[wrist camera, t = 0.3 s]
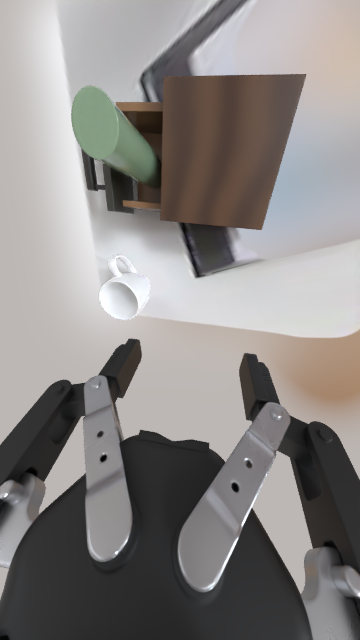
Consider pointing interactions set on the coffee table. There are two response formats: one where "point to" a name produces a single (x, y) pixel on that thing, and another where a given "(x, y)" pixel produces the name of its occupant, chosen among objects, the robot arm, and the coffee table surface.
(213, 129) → the cabinet
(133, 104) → the drawer
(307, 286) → the coffee table surface
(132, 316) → the mug
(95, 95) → the green cylinder
